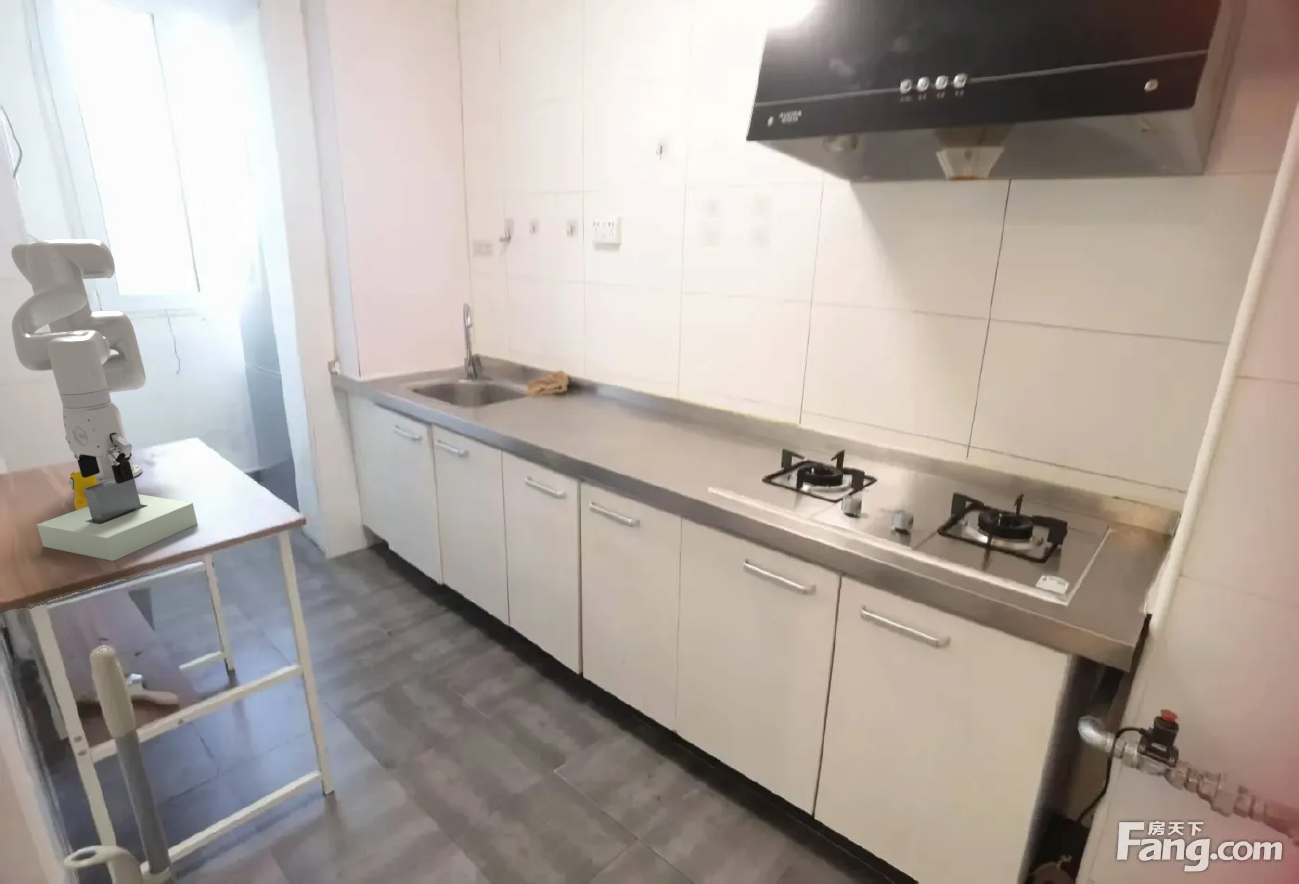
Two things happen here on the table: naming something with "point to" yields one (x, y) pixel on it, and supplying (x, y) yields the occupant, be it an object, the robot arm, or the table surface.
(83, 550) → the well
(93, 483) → the duckling
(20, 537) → the table surface
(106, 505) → the brushed metal pillar
